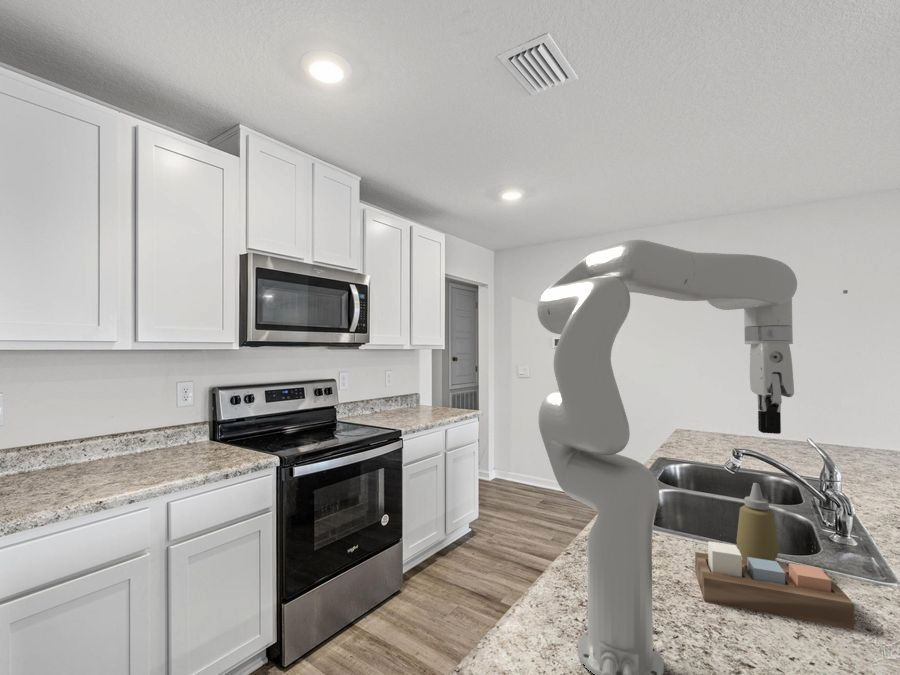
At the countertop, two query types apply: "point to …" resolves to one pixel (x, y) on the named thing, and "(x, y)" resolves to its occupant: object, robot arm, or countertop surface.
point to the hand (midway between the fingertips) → (769, 432)
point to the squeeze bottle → (757, 528)
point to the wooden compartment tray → (775, 596)
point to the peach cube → (809, 577)
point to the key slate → (765, 570)
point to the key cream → (724, 559)
